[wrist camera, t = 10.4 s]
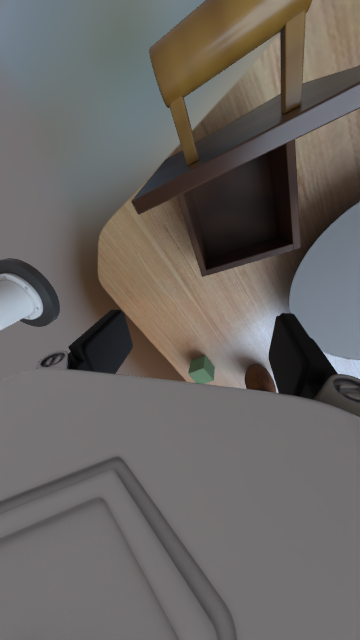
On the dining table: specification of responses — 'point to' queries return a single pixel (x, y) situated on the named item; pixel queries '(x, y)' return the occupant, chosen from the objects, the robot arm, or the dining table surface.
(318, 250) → the flat disc
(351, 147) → the dining table surface
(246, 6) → the lid
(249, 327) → the dining table surface
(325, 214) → the dining table surface
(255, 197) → the chest
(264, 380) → the wooden figurine
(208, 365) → the block
